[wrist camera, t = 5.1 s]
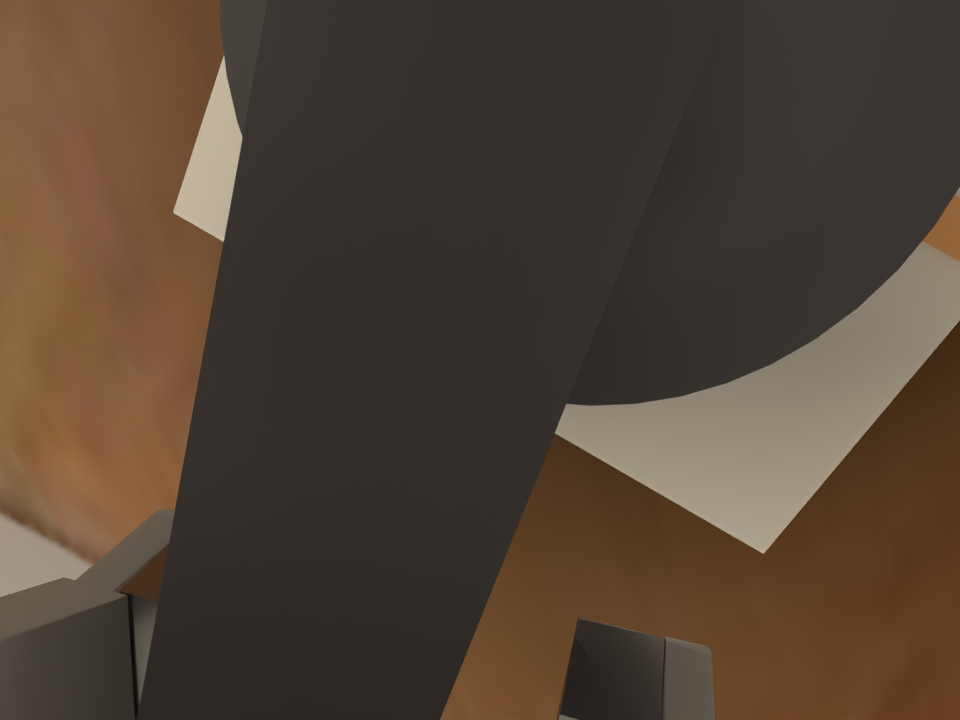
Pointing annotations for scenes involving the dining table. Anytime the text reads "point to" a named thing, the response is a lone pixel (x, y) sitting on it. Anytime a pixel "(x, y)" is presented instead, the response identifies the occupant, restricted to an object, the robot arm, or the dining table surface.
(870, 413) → the base
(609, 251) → the twist knob
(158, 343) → the dining table surface
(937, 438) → the dining table surface
